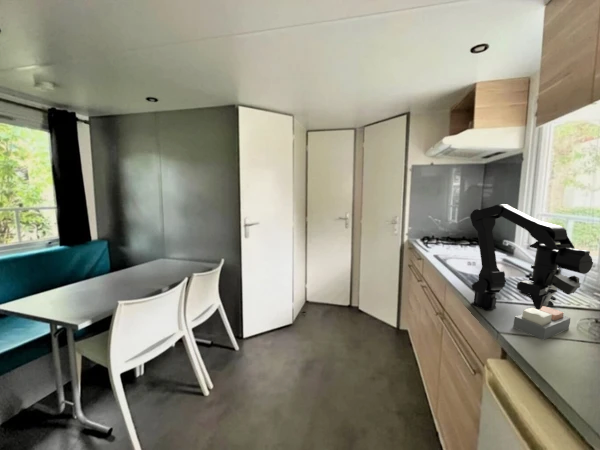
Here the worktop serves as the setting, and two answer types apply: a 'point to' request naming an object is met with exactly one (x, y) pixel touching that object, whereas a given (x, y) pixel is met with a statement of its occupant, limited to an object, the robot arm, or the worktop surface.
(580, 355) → the worktop surface
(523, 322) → the keypad
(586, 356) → the worktop surface
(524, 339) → the worktop surface
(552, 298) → the can opener
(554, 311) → the terracotta key
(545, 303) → the lightbulb
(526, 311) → the cream key
